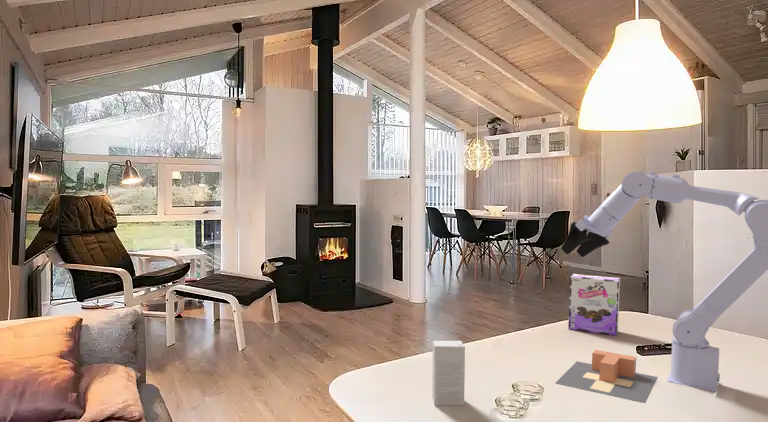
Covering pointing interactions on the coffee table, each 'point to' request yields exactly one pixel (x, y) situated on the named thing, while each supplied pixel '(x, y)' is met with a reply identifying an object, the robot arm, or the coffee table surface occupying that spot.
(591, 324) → the candy box
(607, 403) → the coffee table surface
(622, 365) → the rust T block
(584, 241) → the robot arm
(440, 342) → the skincare box
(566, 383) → the charcoal mat
